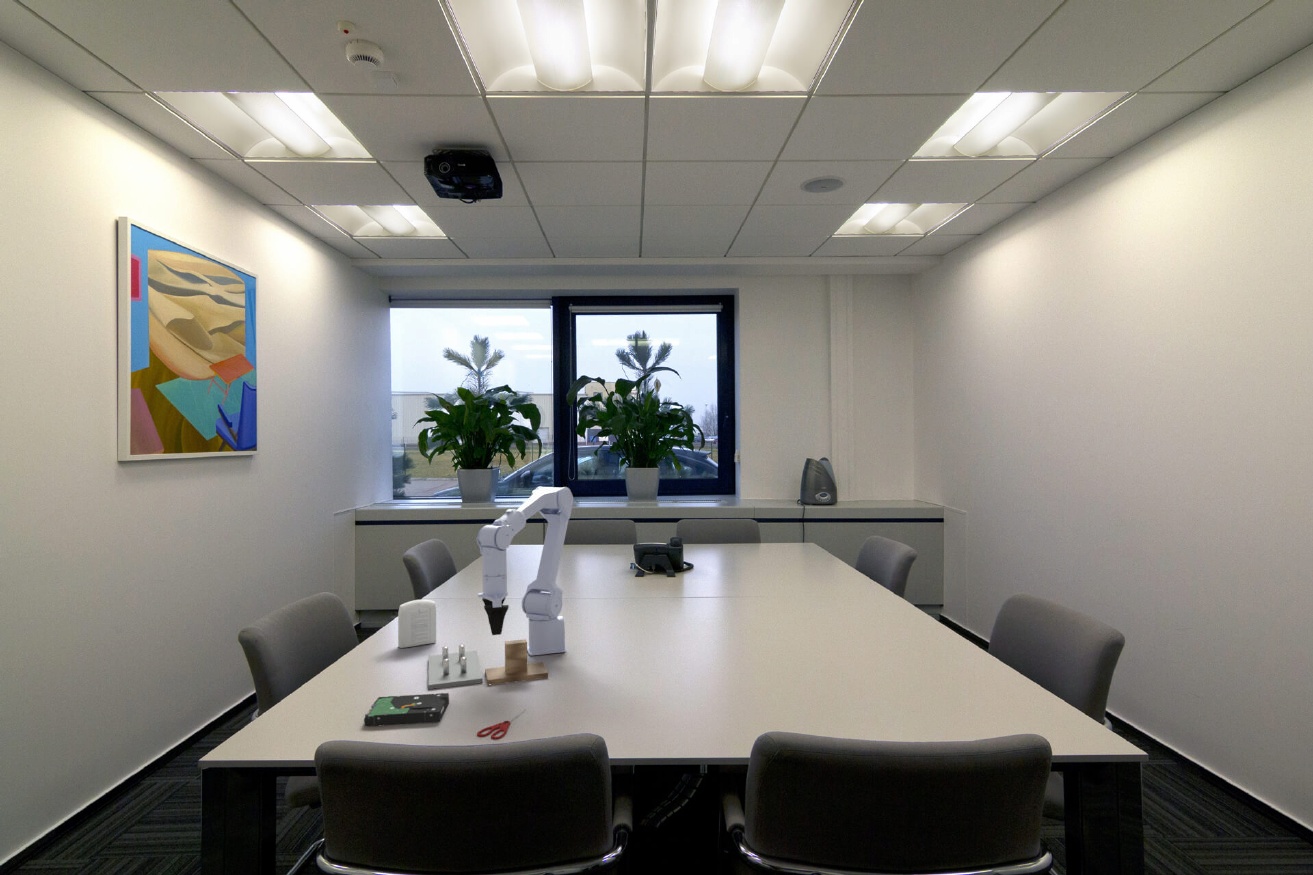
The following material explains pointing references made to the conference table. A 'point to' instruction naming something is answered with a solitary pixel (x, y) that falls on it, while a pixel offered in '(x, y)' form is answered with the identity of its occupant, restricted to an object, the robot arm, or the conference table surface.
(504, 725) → the scissors
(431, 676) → the peg stand
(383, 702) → the disk drive
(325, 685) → the conference table surface
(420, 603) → the white upright slab
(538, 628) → the robot arm
